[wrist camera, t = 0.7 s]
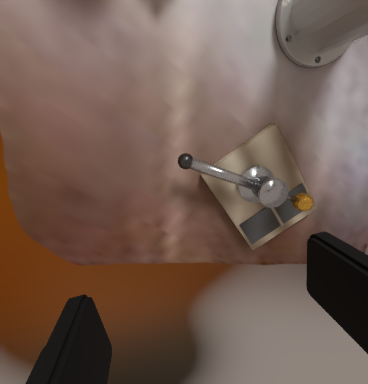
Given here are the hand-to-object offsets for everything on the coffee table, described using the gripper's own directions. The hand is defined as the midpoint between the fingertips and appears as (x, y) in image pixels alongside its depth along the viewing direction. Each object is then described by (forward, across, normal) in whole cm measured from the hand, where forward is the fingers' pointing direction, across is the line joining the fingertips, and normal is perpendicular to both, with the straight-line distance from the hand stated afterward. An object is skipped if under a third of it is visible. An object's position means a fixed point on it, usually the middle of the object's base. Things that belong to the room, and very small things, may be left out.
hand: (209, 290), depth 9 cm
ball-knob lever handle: (+23, -12, +3) cm, 27 cm away
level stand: (+25, -16, +7) cm, 31 cm away
